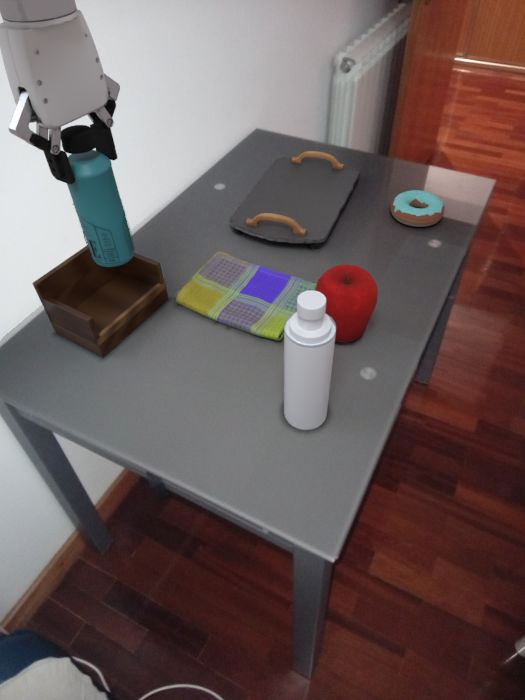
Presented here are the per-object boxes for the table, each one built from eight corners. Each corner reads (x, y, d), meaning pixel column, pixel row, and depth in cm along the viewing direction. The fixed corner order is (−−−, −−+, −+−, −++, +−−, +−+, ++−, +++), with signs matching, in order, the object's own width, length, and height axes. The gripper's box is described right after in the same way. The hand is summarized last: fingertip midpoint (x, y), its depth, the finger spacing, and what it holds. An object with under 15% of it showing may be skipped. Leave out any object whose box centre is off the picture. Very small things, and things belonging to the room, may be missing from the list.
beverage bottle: (146, 256, 75) (114, 122, 60) (120, 281, 71) (78, 144, 56) (112, 246, 77) (73, 114, 63) (84, 270, 73) (35, 135, 59)
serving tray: (280, 162, 134) (280, 139, 129) (364, 175, 128) (367, 151, 123) (221, 239, 110) (219, 215, 105) (321, 260, 103) (323, 235, 99)
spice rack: (103, 358, 86) (82, 307, 77) (56, 333, 91) (31, 283, 82) (168, 299, 96) (157, 248, 87) (123, 280, 101) (108, 230, 92)
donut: (447, 209, 115) (452, 193, 112) (434, 235, 108) (439, 219, 105) (398, 198, 119) (400, 183, 116) (382, 223, 112) (385, 207, 109)
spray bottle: (322, 393, 79) (333, 269, 61) (330, 427, 75) (346, 304, 56) (281, 398, 79) (280, 274, 61) (287, 433, 74) (289, 311, 56)
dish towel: (276, 350, 86) (275, 338, 84) (169, 303, 96) (167, 292, 93) (322, 293, 96) (323, 282, 94) (222, 256, 105) (220, 245, 103)
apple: (369, 356, 84) (381, 296, 75) (310, 350, 86) (314, 290, 76) (370, 314, 92) (381, 254, 82) (315, 310, 93) (319, 250, 83)
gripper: (76, -18, 56) (114, 137, 70) (-63, 18, 47) (12, 191, 60) (123, -12, 54) (154, 149, 67) (-14, 28, 44) (53, 207, 57)
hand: (86, 167), depth 63 cm, fingers closed on beverage bottle, 6 cm apart
